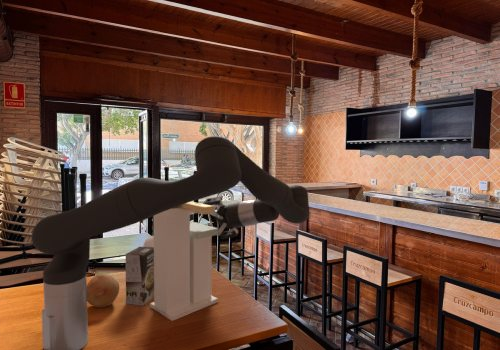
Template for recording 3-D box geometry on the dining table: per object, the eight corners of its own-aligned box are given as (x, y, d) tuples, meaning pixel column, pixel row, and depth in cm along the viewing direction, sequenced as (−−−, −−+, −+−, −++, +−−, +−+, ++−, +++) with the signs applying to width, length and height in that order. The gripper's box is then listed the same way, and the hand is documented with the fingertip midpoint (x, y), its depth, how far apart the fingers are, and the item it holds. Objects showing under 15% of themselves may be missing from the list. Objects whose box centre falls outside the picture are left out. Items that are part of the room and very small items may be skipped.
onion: (125, 305, 106) (125, 274, 105) (93, 316, 99) (92, 283, 98) (111, 295, 113) (110, 266, 112) (79, 306, 105) (78, 274, 104)
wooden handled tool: (199, 215, 88) (199, 201, 87) (153, 204, 103) (153, 192, 103) (218, 211, 92) (218, 198, 92) (172, 201, 108) (171, 190, 108)
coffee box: (144, 306, 106) (143, 255, 104) (125, 304, 107) (124, 253, 106) (157, 293, 115) (157, 246, 113) (140, 292, 116) (139, 245, 115)
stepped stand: (172, 320, 97) (171, 209, 94) (150, 306, 105) (149, 204, 103) (217, 302, 109) (218, 203, 107) (194, 290, 117) (194, 198, 115)
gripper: (231, 201, 97) (186, 210, 105) (250, 240, 102) (207, 246, 110) (240, 187, 103) (197, 197, 111) (258, 224, 109) (216, 231, 116)
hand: (202, 221), depth 110 cm, fingers open, 8 cm apart
